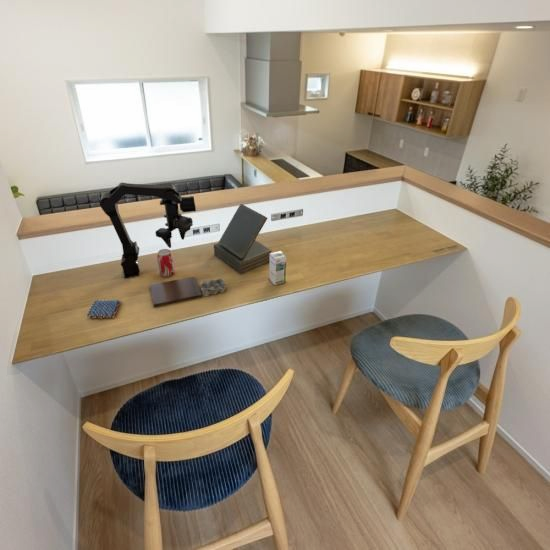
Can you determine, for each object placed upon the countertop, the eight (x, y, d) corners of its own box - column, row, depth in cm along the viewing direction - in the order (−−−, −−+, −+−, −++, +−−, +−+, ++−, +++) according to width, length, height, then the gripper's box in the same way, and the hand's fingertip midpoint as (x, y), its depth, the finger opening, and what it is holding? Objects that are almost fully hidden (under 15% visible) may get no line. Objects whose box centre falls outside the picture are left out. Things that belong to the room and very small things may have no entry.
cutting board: (154, 307, 152) (153, 304, 151) (150, 287, 163) (149, 284, 163) (201, 297, 158) (201, 294, 158) (194, 278, 170) (194, 276, 169)
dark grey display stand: (214, 254, 188) (210, 210, 174) (244, 243, 199) (243, 200, 185) (240, 274, 174) (239, 227, 160) (271, 260, 185) (272, 215, 171)
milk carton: (274, 285, 167) (275, 258, 159) (268, 279, 172) (269, 252, 163) (285, 282, 169) (287, 256, 161) (279, 276, 174) (280, 249, 166)
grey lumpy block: (203, 297, 158) (202, 290, 156) (199, 287, 164) (198, 280, 162) (226, 292, 162) (226, 285, 160) (222, 283, 168) (222, 276, 165)
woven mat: (114, 318, 145) (113, 314, 144) (87, 319, 144) (85, 315, 143) (121, 302, 154) (120, 298, 153) (95, 303, 153) (94, 299, 152)
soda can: (171, 278, 169) (167, 256, 163) (157, 276, 170) (153, 254, 164) (177, 270, 175) (174, 249, 168) (164, 268, 176) (160, 247, 169)
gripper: (172, 224, 151) (177, 256, 160) (199, 209, 165) (202, 239, 174) (152, 218, 155) (157, 250, 164) (180, 204, 169) (184, 233, 178)
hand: (176, 243), depth 170 cm, fingers open, 9 cm apart
